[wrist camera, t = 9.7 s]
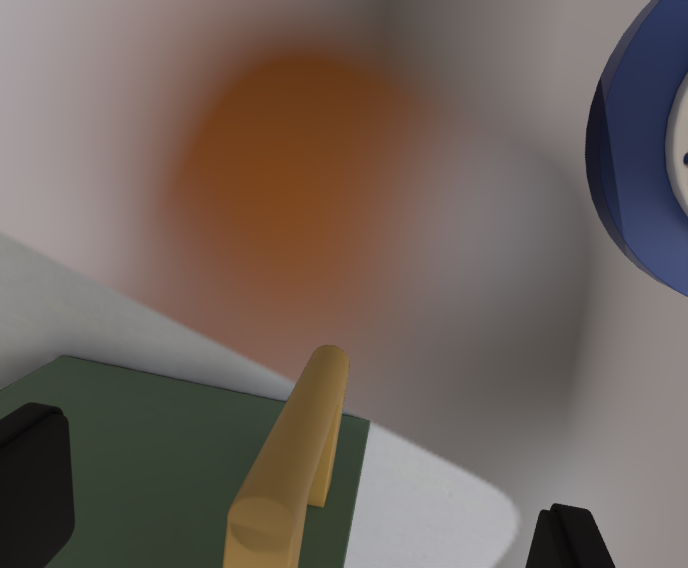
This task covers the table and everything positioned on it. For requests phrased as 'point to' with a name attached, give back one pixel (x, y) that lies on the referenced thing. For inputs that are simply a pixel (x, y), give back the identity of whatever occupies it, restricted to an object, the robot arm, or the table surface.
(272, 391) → the table surface
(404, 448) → the table surface
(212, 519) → the cupboard door
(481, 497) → the table surface
